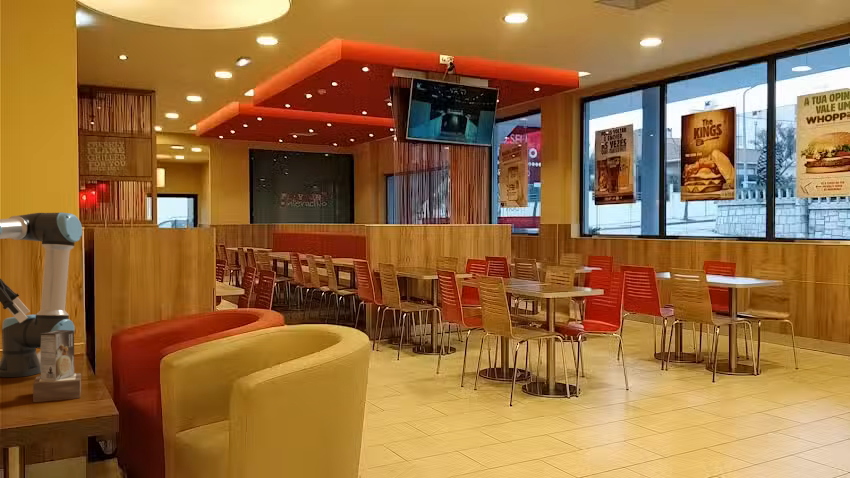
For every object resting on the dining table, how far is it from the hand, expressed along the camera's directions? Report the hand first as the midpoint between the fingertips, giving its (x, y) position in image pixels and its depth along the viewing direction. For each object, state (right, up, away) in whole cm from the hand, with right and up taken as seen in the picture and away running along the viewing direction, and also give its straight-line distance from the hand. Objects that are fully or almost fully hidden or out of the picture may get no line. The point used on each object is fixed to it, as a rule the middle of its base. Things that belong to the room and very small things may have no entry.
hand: (25, 317), depth 239 cm
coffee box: (+11, -21, +1) cm, 24 cm away
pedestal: (+11, -27, +1) cm, 30 cm away
